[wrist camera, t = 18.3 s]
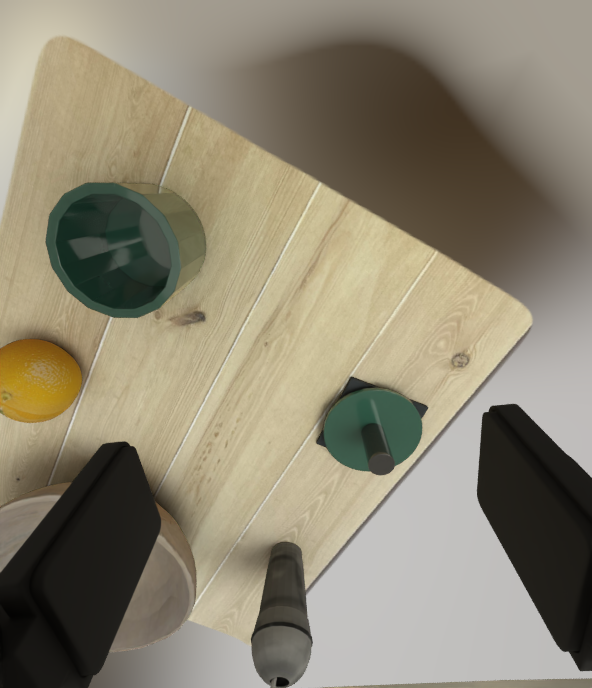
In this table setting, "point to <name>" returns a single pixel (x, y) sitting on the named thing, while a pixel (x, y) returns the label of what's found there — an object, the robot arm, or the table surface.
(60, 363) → the fruit
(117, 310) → the pot
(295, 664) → the beverage cup
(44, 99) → the table surface
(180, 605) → the bowl
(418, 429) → the lid
